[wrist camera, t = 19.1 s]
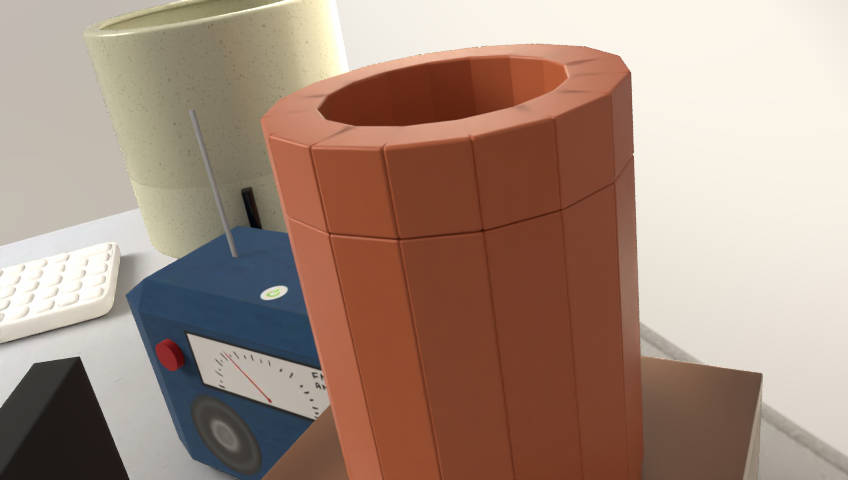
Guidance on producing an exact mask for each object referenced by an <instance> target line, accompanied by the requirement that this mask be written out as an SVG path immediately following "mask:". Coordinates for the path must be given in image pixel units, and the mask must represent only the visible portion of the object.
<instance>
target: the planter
mask: <svg viewBox="0 0 848 480" xmlns="http://www.w3.org/2000/svg"><path fill="white" fill-rule="evenodd" d="M82 36H83V39H84V42H85V45H86V48H87V51H88V54H89V57H90V60H91V63H92V66H93V69H94V72H95V75H96V78H97V81H98V84H99V87H100V90H101V93H102V96H103V99H104V102H105V105H106V108H107V111H108V114H109V117H110V120H111V123H112V126H113V129H114V132H115V135H116V138H117V141H118V144H119V147H120V150H121V153H122V156H123V159H124V162H125V165H126V168H127V171H128V174H129V177H130V180H131V183H132V186H133V189H134V192H135V195H136V198H137V201H138V204H139V207H140V210H141V213H142V216H143V219H144V222H145V225H146V228H147V231H148V234H149V237H150V240H151V242H152V244H153V246H154V247H155V248H156V249H157V250H158V251H160V252H161V253H163V254H165V255H168V256H171V257H174V258H178V259H180V258H182V257H183V256H185V255H187V254H189V253H191V252H192V251H194V250H196V249H198V248H199V247H201V246H203V245H205V244H206V243H208V242H210V241H212V240H213V239H215V238H217V237H219V236H220V235H222V234H224V233H225V230H224V226H223V223H222V220H221V216H220V213H219V210H218V206H217V203H216V200H215V196H214V193H213V190H212V186H211V183H210V179H209V176H208V173H207V169H206V166H205V163H204V159H203V156H202V153H201V149H200V146H199V143H198V139H197V136H196V133H195V129H194V126H193V123H192V119H191V116H190V113H189V110H190V109H194V110H195V113H196V116H197V119H198V123H199V126H200V129H201V133H202V136H203V140H204V143H205V146H206V150H207V153H208V156H209V160H210V163H211V167H212V170H213V173H214V177H215V180H216V183H217V187H218V190H219V193H220V197H221V200H222V204H223V207H224V210H225V214H226V217H227V220H228V224H229V227H230V230H231V229H233V228H235V227H236V226H242V227H249V228H256V229H263V230H270V231H277V232H284V233H288V231H287V227H286V223H285V219H284V215H283V211H282V207H281V203H280V199H279V194H278V191H277V187H276V183H275V179H274V175H273V171H272V167H271V163H270V159H269V155H268V151H267V147H266V143H265V139H264V134H263V130H262V126H261V122H260V121H261V118H262V117H263V116H264V115H265V114H266V113H267V112H268V110H269V109H270V108H271V107H272V106H273V105H274V104H275V103H276V102H277V101H278V100H280V99H281V98H283V97H285V96H287V95H290V94H292V93H294V92H296V91H298V90H300V89H302V88H304V87H306V86H308V85H310V84H313V83H315V82H319V81H321V80H324V79H327V78H330V77H333V76H337V75H340V74H343V73H346V72H348V66H347V61H346V56H345V51H344V45H343V40H342V35H341V30H340V25H339V19H338V14H337V9H336V3H335V0H183V1H179V2H174V3H169V4H164V5H160V6H156V7H151V8H147V9H143V10H139V11H135V12H131V13H127V14H123V15H120V16H116V17H113V18H110V19H107V20H104V21H101V22H98V23H96V24H93V25H91V26H89V27H87V28H85V29H84V30H83V32H82Z"/></svg>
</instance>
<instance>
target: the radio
mask: <svg viewBox="0 0 848 480" xmlns="http://www.w3.org/2000/svg"><path fill="white" fill-rule="evenodd" d="M189 113H190V116H191V119H192V123H193V126H194V129H195V133H196V136H197V139H198V143H199V146H200V149H201V153H202V156H203V159H204V163H205V166H206V169H207V173H208V176H209V179H210V183H211V186H212V190H213V193H214V196H215V200H216V203H217V206H218V210H219V213H220V216H221V220H222V223H223V226H224V230H225V233H224V234H222V235H220V236H219V237H217V238H215V239H213V240H212V241H210V242H208V243H206V244H205V245H203V246H201V247H199V248H198V249H196V250H194V251H192V252H191V253H189V254H187V255H185V256H183V257H182V258H180V259H178V260H176V261H175V262H173V263H171V264H169V265H168V266H166V267H164V268H162V269H161V270H159V271H157V272H155V273H154V274H152V275H150V276H148V277H146V278H145V279H143V280H142V281H141V282H140V283H139V284H138V285H137V286H136V287H134V288H133V289H132V290H131V291H130V292H129V293H128V294H126V298H127V300H128V303H129V306H130V308H131V311H132V314H133V316H134V319H135V322H136V324H137V327H138V330H139V332H140V335H141V338H142V340H143V343H144V346H145V348H146V351H147V354H148V356H149V359H150V362H151V364H152V367H153V370H154V372H155V375H156V378H157V380H158V383H159V386H160V388H161V391H162V394H163V396H164V399H165V402H166V404H167V407H168V410H169V412H170V415H171V418H172V420H173V423H174V426H175V428H176V431H177V434H178V436H179V439H180V440H181V442H182V443H183V445H184V446H185V448H186V449H187V451H188V452H189V454H190V455H191V457H192V458H193V459H194V460H197V461H199V462H201V463H204V464H206V465H208V466H210V467H213V468H215V469H218V470H220V471H222V472H225V473H227V474H229V475H232V476H234V477H236V478H239V479H241V480H261V479H262V478H263V477H264V476H265V475H266V474H267V472H268V471H269V470H270V469H271V468H272V467H273V466H274V465H275V464H276V463H277V462H278V460H279V459H280V458H281V457H282V456H283V455H284V454H285V453H286V452H287V451H288V450H289V448H290V447H291V446H292V445H293V444H294V443H295V442H296V441H297V440H298V439H299V438H300V436H301V435H302V434H303V433H304V432H305V431H306V430H307V429H308V428H309V427H310V426H311V424H312V423H313V422H314V421H315V420H316V419H317V418H318V417H319V416H320V415H321V414H322V412H323V411H324V410H325V409H326V408H327V407H328V406H329V405H330V401H329V397H328V393H327V389H326V385H325V381H324V377H323V373H322V369H321V365H320V360H319V356H318V352H317V348H316V344H315V340H314V336H313V332H312V328H311V324H310V320H309V316H308V312H307V308H306V304H305V300H304V296H303V292H302V288H301V284H300V280H299V276H298V272H297V268H296V264H295V260H294V256H293V252H292V248H291V243H290V239H289V235H288V233H284V232H277V231H270V230H263V229H256V228H249V227H242V226H236V227H235V228H233V229H231V230H230V227H229V224H228V220H227V217H226V214H225V210H224V207H223V204H222V200H221V197H220V193H219V190H218V187H217V183H216V180H215V177H214V173H213V170H212V167H211V163H210V160H209V156H208V153H207V150H206V146H205V143H204V140H203V136H202V133H201V129H200V126H199V123H198V119H197V116H196V113H195V110H194V109H190V110H189Z"/></svg>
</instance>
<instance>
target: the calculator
mask: <svg viewBox="0 0 848 480" xmlns="http://www.w3.org/2000/svg"><path fill="white" fill-rule="evenodd" d="M120 257H121V254H120V250H119V247H118V245H117V244H116V243H103V244H99V245H95V246H91V247H87V248H83V249H79V250H76V251H72V252H68V253H64V254H59V255H56V256H52V257H48V258H43V259H39V260H35V261H31V262H27V263H23V264H19V265H15V266H11V267H7V268H3V269H0V343H4V342H7V341H11V340H15V339H19V338H22V337H26V336H30V335H34V334H37V333H41V332H45V331H49V330H52V329H56V328H60V327H64V326H67V325H71V324H75V323H79V322H82V321H86V320H89V319H93V318H96V317H99V316H102V315H104V314H106V313H108V312H109V311H110V310H111V308H112V306H113V303H114V297H115V291H116V284H117V278H118V271H119V265H120Z"/></svg>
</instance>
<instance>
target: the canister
mask: <svg viewBox="0 0 848 480" xmlns="http://www.w3.org/2000/svg"><path fill="white" fill-rule="evenodd" d="M260 122H261V126H262V130H263V134H264V139H265V143H266V147H267V151H268V155H269V159H270V163H271V167H272V171H273V175H274V179H275V183H276V187H277V191H278V194H279V199H280V203H281V207H282V211H283V215H284V219H285V223H286V227H287V231H288V235H289V239H290V243H291V248H292V252H293V256H294V260H295V264H296V268H297V272H298V276H299V280H300V284H301V288H302V292H303V296H304V300H305V304H306V308H307V312H308V316H309V320H310V324H311V328H312V332H313V336H314V340H315V344H316V348H317V352H318V356H319V360H320V365H321V369H322V373H323V377H324V381H325V385H326V389H327V393H328V397H329V401H330V405H331V409H332V413H333V417H334V421H335V425H336V429H337V433H338V437H339V441H340V445H341V449H342V453H343V457H344V461H345V465H346V469H347V473H348V476H349V479H350V480H641V479H642V460H643V457H644V443H643V413H642V384H641V354H640V324H639V296H638V265H637V236H636V208H635V207H636V206H635V177H634V156H633V153H634V144H633V115H632V86H631V72H630V70H629V69H628V68H627V66H626V65H625V63H624V62H623V60H622V59H621V58H620V56H618V55H614V54H611V53H607V52H603V51H600V50H596V49H592V48H589V47H585V46H584V47H582V46H567V45H550V44H518V45H500V46H482V47H480V48H479V47H472V48H465V49H457V50H450V51H442V52H435V53H427V54H424V55H421V54H420V55H415V56H411V57H406V58H402V59H397V60H392V61H387V62H383V63H378V64H373V65H369V66H367V67H362V68H359V69H356V70H353V71H350V72H346V73H343V74H340V75H337V76H333V77H330V78H327V79H324V80H321V81H319V82H315V83H313V84H310V85H308V86H306V87H304V88H302V89H300V90H298V91H296V92H294V93H292V94H290V95H287V96H285V97H283V98H281V99H280V100H278V101H277V102H276V103H275V104H274V105H273V106H272V107H271V108H270V109H269V110H268V112H267V113H266V114H265V115H264V116H263V117H262V118H261V121H260Z"/></svg>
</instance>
